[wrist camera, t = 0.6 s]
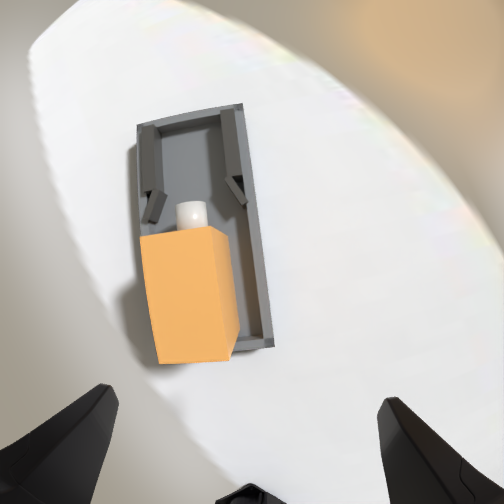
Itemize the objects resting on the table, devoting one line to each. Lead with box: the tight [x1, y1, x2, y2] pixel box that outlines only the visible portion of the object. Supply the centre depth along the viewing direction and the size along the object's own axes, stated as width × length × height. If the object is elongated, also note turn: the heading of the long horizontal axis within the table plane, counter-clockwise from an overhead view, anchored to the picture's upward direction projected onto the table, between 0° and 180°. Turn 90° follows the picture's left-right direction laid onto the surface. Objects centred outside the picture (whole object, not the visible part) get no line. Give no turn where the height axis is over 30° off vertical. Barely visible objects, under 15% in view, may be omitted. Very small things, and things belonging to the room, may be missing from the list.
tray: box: [137, 103, 275, 351], centre depth 24 cm, size 21×10×3 cm, turn 7°
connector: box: [140, 201, 240, 364], centre depth 21 cm, size 10×4×8 cm, turn 7°
